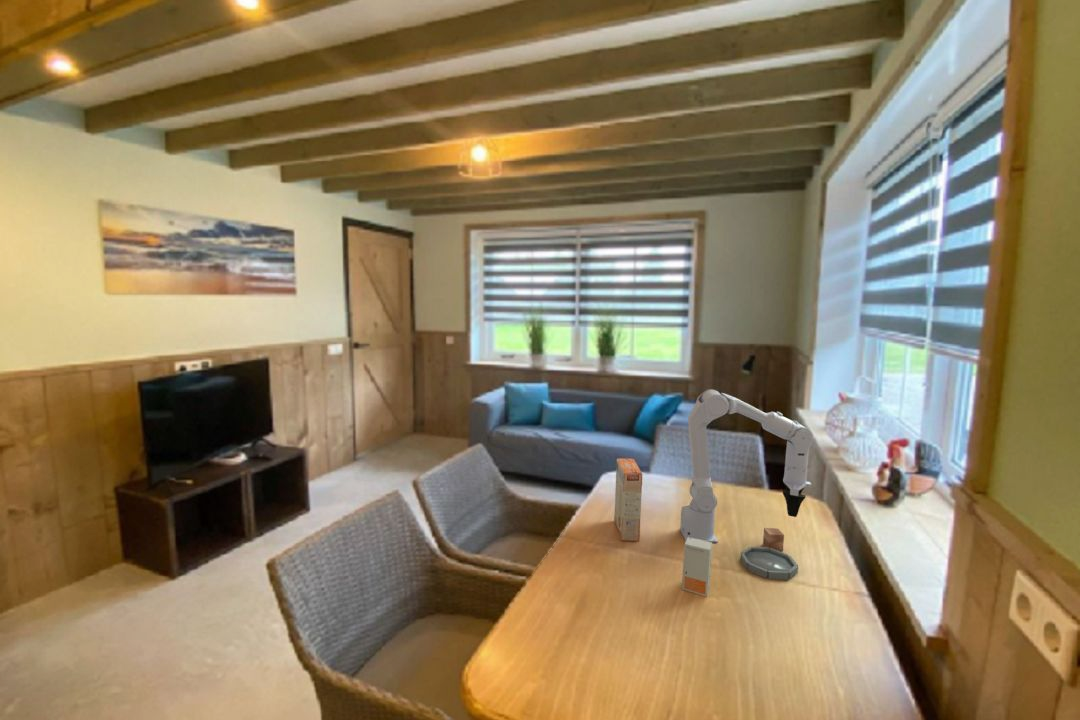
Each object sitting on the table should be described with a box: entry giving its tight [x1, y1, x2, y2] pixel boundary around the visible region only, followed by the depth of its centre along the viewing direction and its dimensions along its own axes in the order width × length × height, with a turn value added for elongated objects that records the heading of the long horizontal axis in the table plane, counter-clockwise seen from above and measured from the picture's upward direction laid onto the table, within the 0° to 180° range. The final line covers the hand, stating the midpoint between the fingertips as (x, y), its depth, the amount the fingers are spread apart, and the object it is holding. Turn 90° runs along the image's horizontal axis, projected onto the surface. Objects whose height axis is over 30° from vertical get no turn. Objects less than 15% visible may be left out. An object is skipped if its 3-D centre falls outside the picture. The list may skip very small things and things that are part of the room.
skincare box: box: [681, 537, 713, 597], centre depth 115 cm, size 6×4×12 cm
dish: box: [739, 546, 799, 581], centre depth 127 cm, size 13×13×2 cm
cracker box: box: [613, 458, 644, 542], centre depth 145 cm, size 14×6×21 cm, turn 179°
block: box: [762, 527, 785, 552], centre depth 136 cm, size 4×4×5 cm
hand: (792, 510), depth 139 cm, fingers open, 7 cm apart
